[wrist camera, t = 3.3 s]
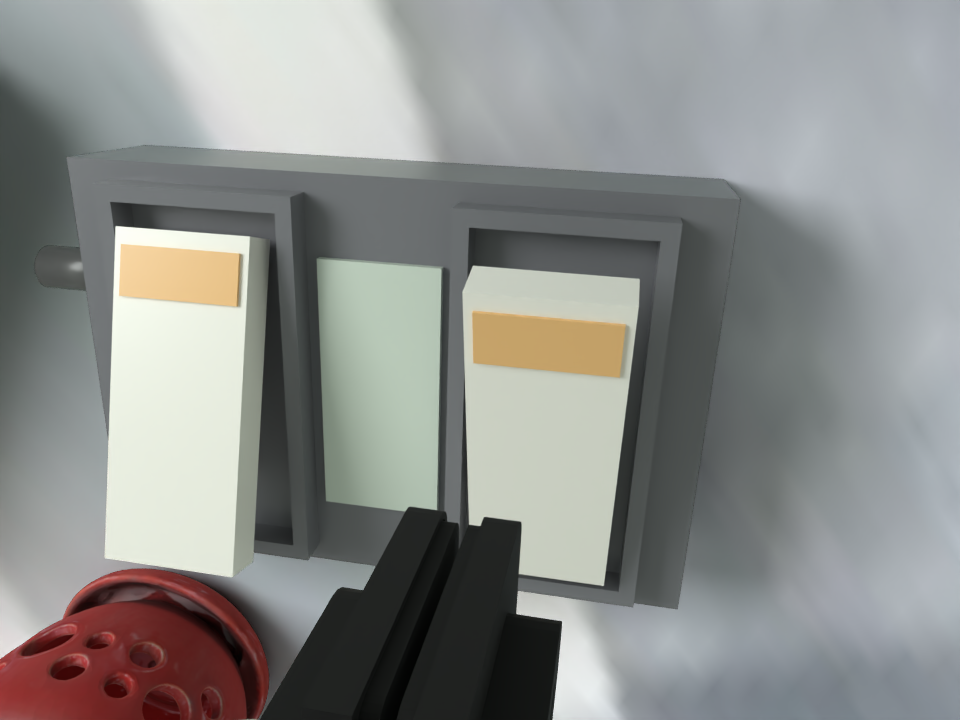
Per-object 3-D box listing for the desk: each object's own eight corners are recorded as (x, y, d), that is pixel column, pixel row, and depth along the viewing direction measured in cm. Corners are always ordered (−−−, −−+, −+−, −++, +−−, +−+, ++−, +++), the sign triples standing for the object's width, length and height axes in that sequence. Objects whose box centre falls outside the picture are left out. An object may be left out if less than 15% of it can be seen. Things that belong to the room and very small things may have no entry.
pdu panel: (71, 140, 34) (-44, 154, 28) (723, 179, 30) (745, 205, 24) (118, 466, 39) (31, 533, 34) (671, 538, 35) (679, 629, 29)
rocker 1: (142, 229, 29) (113, 225, 27) (270, 239, 28) (248, 236, 26) (131, 544, 30) (102, 559, 28) (252, 562, 29) (230, 578, 27)
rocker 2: (472, 265, 24) (461, 294, 22) (639, 279, 23) (638, 309, 21) (478, 535, 31) (469, 569, 29) (606, 552, 30) (603, 588, 28)
